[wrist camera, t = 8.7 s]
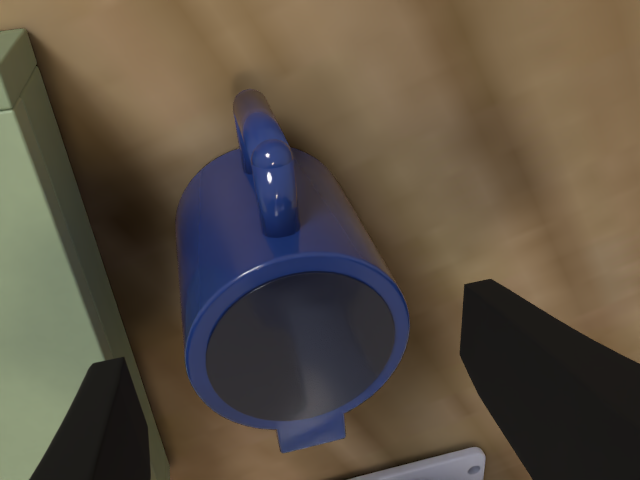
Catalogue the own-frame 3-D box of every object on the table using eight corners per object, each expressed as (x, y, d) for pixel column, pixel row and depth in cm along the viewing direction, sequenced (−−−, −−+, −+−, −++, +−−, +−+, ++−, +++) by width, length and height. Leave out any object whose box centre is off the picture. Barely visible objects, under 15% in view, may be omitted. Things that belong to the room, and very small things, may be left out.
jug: (349, 292, 19) (411, 425, 15) (197, 323, 18) (213, 474, 14) (335, 58, 15) (415, 142, 11) (140, 86, 14) (136, 190, 10)
